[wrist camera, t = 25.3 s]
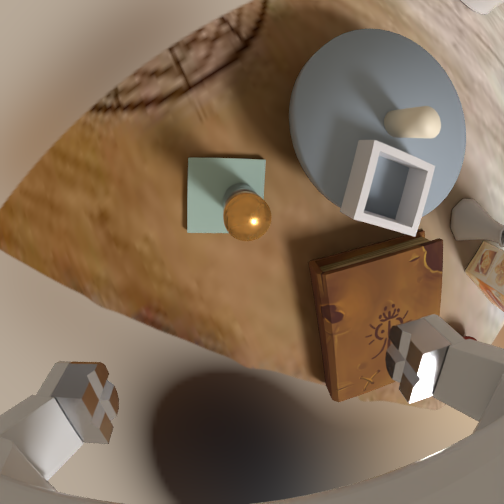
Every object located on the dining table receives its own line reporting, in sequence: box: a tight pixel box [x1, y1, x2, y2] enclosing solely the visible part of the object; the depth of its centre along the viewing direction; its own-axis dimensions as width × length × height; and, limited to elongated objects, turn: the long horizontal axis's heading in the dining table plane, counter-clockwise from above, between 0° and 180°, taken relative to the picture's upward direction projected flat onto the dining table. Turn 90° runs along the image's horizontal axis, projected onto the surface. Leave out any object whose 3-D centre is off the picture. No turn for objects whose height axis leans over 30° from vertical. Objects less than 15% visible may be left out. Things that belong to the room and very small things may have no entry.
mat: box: [187, 158, 266, 233], centre depth 37 cm, size 9×9×1 cm
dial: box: [289, 29, 466, 237], centre depth 27 cm, size 22×22×9 cm
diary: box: [309, 230, 443, 402], centre depth 43 cm, size 23×19×6 cm
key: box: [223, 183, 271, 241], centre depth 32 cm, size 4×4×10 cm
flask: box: [451, 199, 504, 247], centre depth 37 cm, size 7×7×10 cm
